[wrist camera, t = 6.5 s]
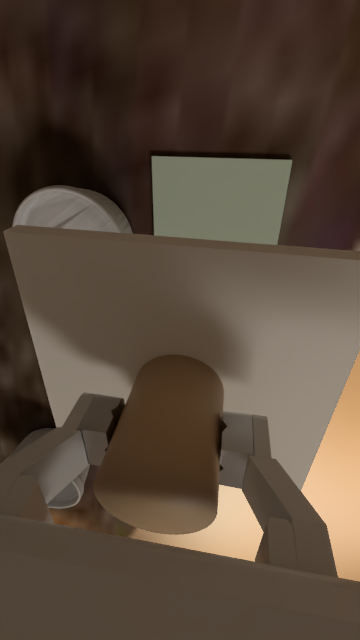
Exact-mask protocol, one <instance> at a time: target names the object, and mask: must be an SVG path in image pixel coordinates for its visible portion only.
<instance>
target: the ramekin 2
mask: <svg viewBox="0 0 360 640" xmlns="http://www.w3.org/2000/svg"><path fill="white" fill-rule="evenodd" d="M54 429H55V428H42V429H39V430H36V431H33V432H32V433H30V434H29V435H28V436H26V437H25V438H24V440H23V441H22V442H21V443H20V444H19V446H18V447H17V448H16V449H15V450H14V452H13V453H12V454H11V455H10V456H8V457H7V458H6V459H5V460H7V459H8V458H10V457H11V456H13V455H14V454H16V453H18V452H19V451H21V450H22V449H24V448H25V447H27V446H28V445H30V444H32V443H33V442H35V441H36V440H38V439H39V438H41V437H43V436H44V435H46V434H47V433H49V432H50V431H52V430H54ZM88 465H89V466H90V464H88ZM89 466H88V467H86V468H85V469H84V470H83V471H82V472H81V473H80V474H79V475H78V476H77V477H76V478H75V479H73V480H72V481H71V482H70V483H69V484H68V485H67V486H66V487H65V488H64V489H63V490H62V491H61V492H59V493H58V494H57V495H56V496H55V497H54V498H53V499H52V500H51V501H50V502H49V503H48V504H47V506H48V507H50V508H68V507H71V506H74V505H76V504H77V503H78V502H79V500H80V499H81V496H82V494H83V491H84V483H85V480H86V477H87V473H88V470H89Z"/></svg>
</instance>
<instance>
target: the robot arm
mask: <svg viewBox="0 0 360 640" xmlns="http://www.w3.org/2000/svg"><path fill="white" fill-rule="evenodd" d="M124 407H125V402H124V399H123V398H119V397H112V396H106V395H100V394H92V393H85V392H84V393H83V394H82V395H80V397H79V399H78V400H77V402H76V404H75V405H74V407H73V409H72V411H71V412H70V414H69V416H68V417H67V419H66V421H65V422H64V424H63V426H62V427H57V428H55V429H54V430H52V431H50V432H49V433H47V434H46V435H44V436H43V437H41V438H39V439H38V440H36V441H35V442H33V443H32V444H30V445H28V446H27V447H25V448H24V449H22V450H21V451H19V452H18V453H16V454H14V455H13V456H11V457H10V458H8V459H7V460H5V461H3V462H2V463H0V640H360V582H358V581H353V580H348V579H342V578H338V576H337V571H336V567H335V562H334V557H333V553H332V549H331V544H330V539H329V535H328V530H327V526H326V524H325V523H324V521H323V520H322V519H321V517H320V516H319V515H318V513H317V512H316V511H315V510H314V508H313V507H312V505H311V504H310V503H309V502H308V500H307V499H306V498H305V496H304V495H303V494H302V492H301V491H300V490H299V488H298V487H297V486H296V484H295V483H294V482H293V480H292V479H291V478H290V476H289V475H288V474H287V473H286V471H285V470H284V469H283V467H282V466H281V465H280V463H279V462H278V461H277V459H273V458H272V456H271V446H270V436H269V426H268V418H267V417H266V416H260V415H251V414H245V413H236V412H228V411H223V416H222V428H221V435H222V437H221V445H220V472H219V484H220V485H225V486H230V487H235V488H241V489H242V491H243V493H244V495H245V497H246V499H247V501H248V503H249V505H250V506H251V508H252V510H253V512H254V514H255V516H256V518H257V520H258V522H259V524H260V526H261V528H262V530H263V532H264V534H263V537H262V540H261V543H260V546H259V549H258V552H257V555H256V558H255V562H252V561H247V560H242V559H237V558H232V557H227V556H220V555H216V554H211V553H206V552H200V551H195V550H190V549H185V548H179V547H174V546H169V545H163V544H158V543H153V542H148V541H142V540H137V539H132V538H127V537H122V536H116V535H111V534H106V533H101V532H95V531H90V530H85V529H79V528H74V527H69V526H64V525H58V524H53V519H52V516H51V514H50V511H49V509H48V506H47V504H48V503H49V502H50V501H51V500H52V499H53V498H54V497H55V496H56V495H57V494H58V493H59V492H61V491H62V490H63V489H64V488H65V487H66V486H67V485H68V484H69V483H70V482H71V481H72V480H73V479H75V478H76V477H77V476H78V475H79V474H80V473H81V472H82V471H83V470H84V469H85V468H86V467H88V466H89V465H88V464H92V465H101V463H102V460H103V458H104V456H105V453H106V451H107V448H108V446H109V443H110V441H111V438H112V436H113V434H114V431H115V429H116V426H117V424H118V421H119V419H120V416H121V414H122V412H123V409H124Z"/></svg>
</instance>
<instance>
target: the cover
mask: <svg viewBox="0 0 360 640" xmlns="http://www.w3.org/2000/svg"><path fill="white" fill-rule="evenodd" d="M3 233H4V236H5V240H6V244H7V247H8V251H9V255H10V259H11V262H12V266H13V270H14V273H15V277H16V281H17V284H18V288H19V292H20V295H21V299H22V303H23V306H24V310H25V314H26V317H27V321H28V325H29V329H30V332H31V336H32V340H33V343H34V347H35V351H36V354H37V358H38V362H39V365H40V369H41V373H42V376H43V380H44V384H45V388H46V391H47V395H48V399H49V402H50V406H51V410H52V413H53V417H54V421H55V424H56V428H57V427H62V426H63V424H64V422H65V421H66V419H67V417H68V416H69V414H70V412H71V411H72V409H73V407H74V405H75V404H76V402H77V400H78V399H79V397H80V395H82V394H83V393H84V392H85V393H92V394H100V395H106V396H112V397H119V398H123V399H124V402H125V407H124V409H123V412H122V414H121V416H120V419H119V421H118V424H117V426H116V429H115V431H114V434H113V436H112V438H111V441H110V443H109V446H108V448H107V451H106V453H105V456H104V458H103V460H102V463H101V465H100V468H99V470H98V473H97V475H96V478H95V480H94V484H93V489H94V493H95V496H96V498H97V500H98V501H99V503H100V504H101V505H102V506H103V507H104V508H105V509H106V510H107V511H108V512H109V513H110V514H112V515H113V516H115V517H116V518H118V519H119V520H121V521H123V522H125V523H127V524H129V525H132V526H134V527H137V528H140V529H143V530H147V531H151V532H155V533H161V534H175V535H177V534H188V533H193V532H197V531H200V530H202V529H204V528H206V527H208V526H209V525H210V524H211V523H212V522H213V521H214V520H215V518H216V515H217V507H218V489H219V472H220V445H221V437H222V435H221V428H222V416H223V411H228V412H236V413H245V414H251V415H260V416H266V417H267V418H268V426H269V436H270V446H271V456H272V458H273V459H277V461H278V462H279V463H280V465H281V466H282V467H283V469H284V470H285V471H286V473H287V474H288V475H289V476H290V478H291V479H292V480H293V482H294V483H295V484H296V486H297V487H298V488H299V490H300V491H301V489H302V486H303V484H304V482H305V479H306V477H307V475H308V472H309V470H310V467H311V465H312V463H313V460H314V458H315V455H316V453H317V451H318V448H319V446H320V443H321V441H322V439H323V436H324V434H325V431H326V429H327V427H328V424H329V422H330V419H331V417H332V415H333V412H334V410H335V408H336V405H337V403H338V400H339V398H340V396H341V393H342V391H343V388H344V386H345V384H346V381H347V379H348V376H349V374H350V371H351V369H352V367H353V364H354V362H355V360H356V357H357V355H358V352H359V350H360V251H347V250H334V249H321V248H309V247H296V246H283V245H270V244H257V243H244V242H232V241H219V240H206V239H193V238H180V237H167V236H154V235H142V234H129V233H116V232H103V231H90V230H77V229H65V228H52V227H39V226H26V225H16V226H14V227H12V228H9V229H7V230H5V231H3Z"/></svg>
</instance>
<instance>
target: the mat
mask: <svg viewBox="0 0 360 640" xmlns="http://www.w3.org/2000/svg"><path fill="white" fill-rule="evenodd" d="M291 165H292V160H285V159H249V158H213V157H176V156H152V183H153V214H154V236H167V237H180V238H193V239H206V240H219V241H232V242H244V243H257V244H270V245H277V242H278V237H279V231H280V226H281V220H282V215H283V209H284V204H285V198H286V193H287V187H288V182H289V176H290V171H291Z"/></svg>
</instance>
